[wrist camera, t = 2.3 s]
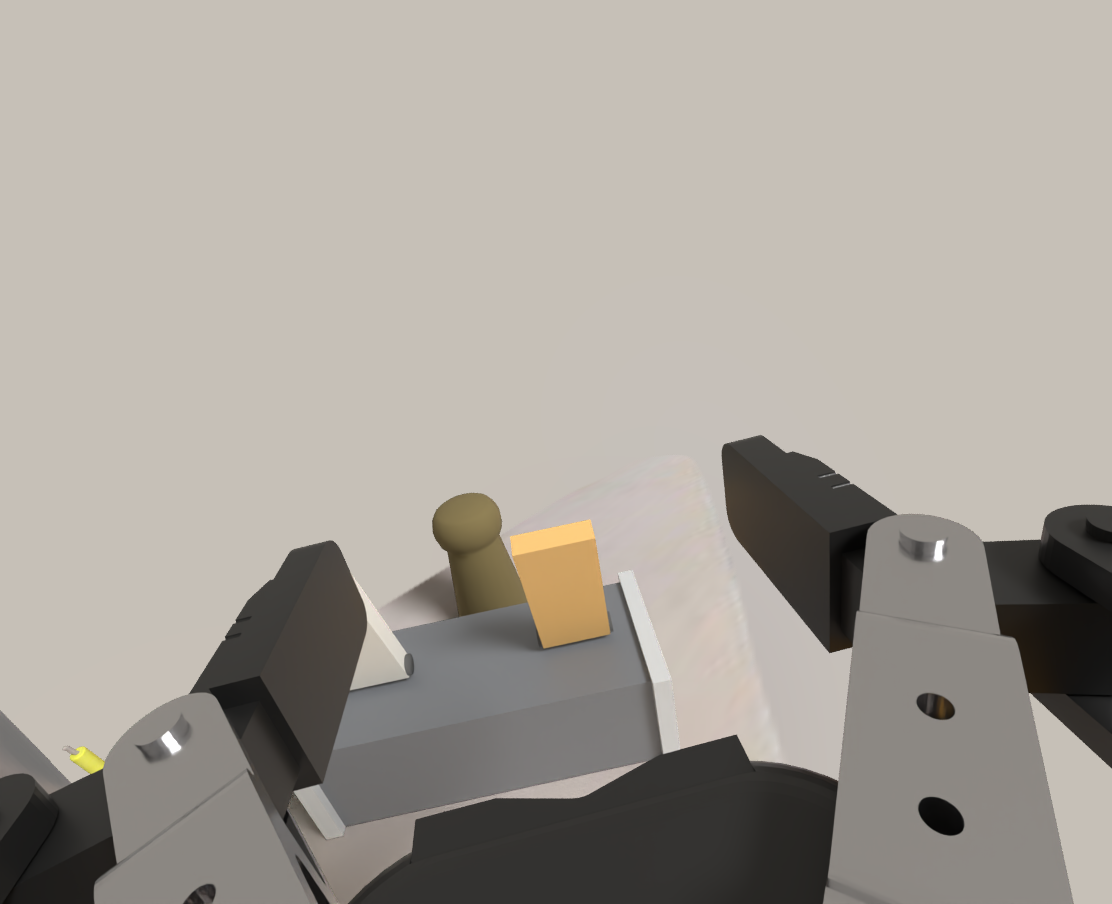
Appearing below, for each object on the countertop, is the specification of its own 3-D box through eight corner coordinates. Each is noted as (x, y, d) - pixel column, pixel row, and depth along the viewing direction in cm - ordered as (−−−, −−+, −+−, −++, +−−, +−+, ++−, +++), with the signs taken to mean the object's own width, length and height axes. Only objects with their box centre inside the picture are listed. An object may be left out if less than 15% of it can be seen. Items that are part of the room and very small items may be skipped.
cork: (476, 586, 48) (442, 483, 43) (539, 589, 47) (511, 481, 42) (448, 638, 43) (406, 528, 38) (518, 644, 42) (483, 528, 37)
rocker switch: (339, 694, 31) (258, 610, 25) (342, 674, 32) (264, 588, 26) (413, 678, 31) (350, 590, 25) (414, 659, 32) (353, 569, 26)
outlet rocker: (540, 651, 32) (508, 556, 25) (538, 632, 32) (506, 537, 26) (614, 635, 32) (599, 537, 25) (609, 617, 32) (594, 518, 26)
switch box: (326, 839, 31) (275, 765, 28) (360, 705, 39) (324, 636, 36) (681, 762, 31) (671, 679, 28) (643, 644, 39) (632, 569, 36)
